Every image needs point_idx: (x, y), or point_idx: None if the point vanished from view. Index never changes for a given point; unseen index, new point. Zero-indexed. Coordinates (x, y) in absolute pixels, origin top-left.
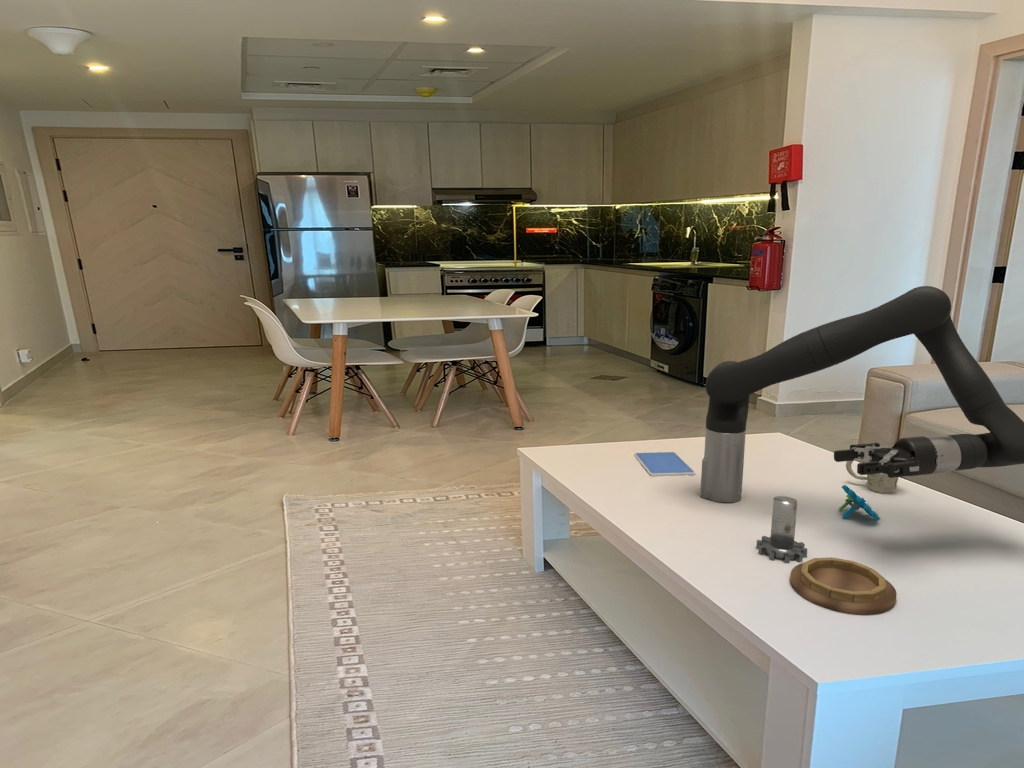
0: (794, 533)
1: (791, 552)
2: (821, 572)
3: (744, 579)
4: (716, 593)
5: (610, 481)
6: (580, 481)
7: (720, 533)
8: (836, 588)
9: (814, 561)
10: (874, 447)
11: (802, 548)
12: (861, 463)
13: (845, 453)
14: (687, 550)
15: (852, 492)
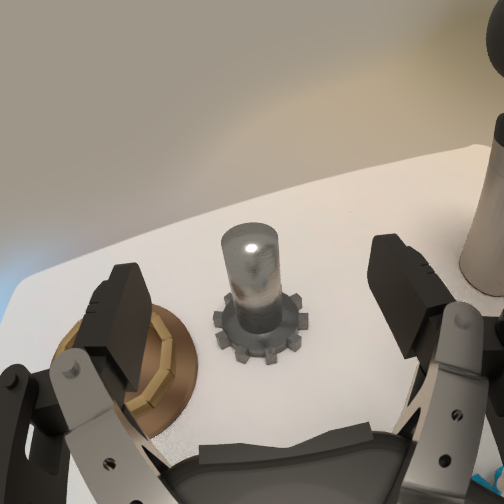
0: (242, 311)
1: (225, 323)
2: (150, 349)
3: (172, 263)
4: (149, 237)
5: (455, 178)
6: (437, 162)
7: (328, 256)
8: (78, 329)
9: (159, 333)
10: (448, 440)
11: (243, 346)
12: (120, 269)
13: (395, 281)
14: (260, 221)
15: (499, 475)
